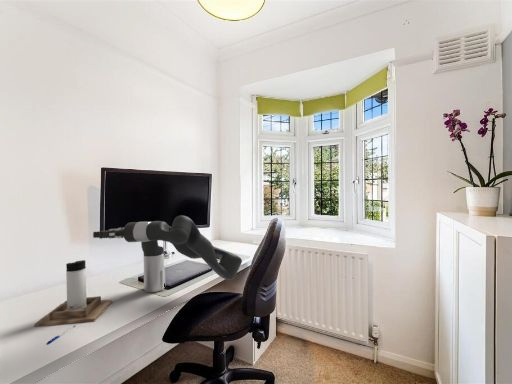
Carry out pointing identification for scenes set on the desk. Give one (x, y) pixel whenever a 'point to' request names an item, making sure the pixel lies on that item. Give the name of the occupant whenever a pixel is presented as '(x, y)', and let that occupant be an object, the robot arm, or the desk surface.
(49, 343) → the ballpoint pen
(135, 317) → the desk surface
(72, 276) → the travel mug
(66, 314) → the mug holder
